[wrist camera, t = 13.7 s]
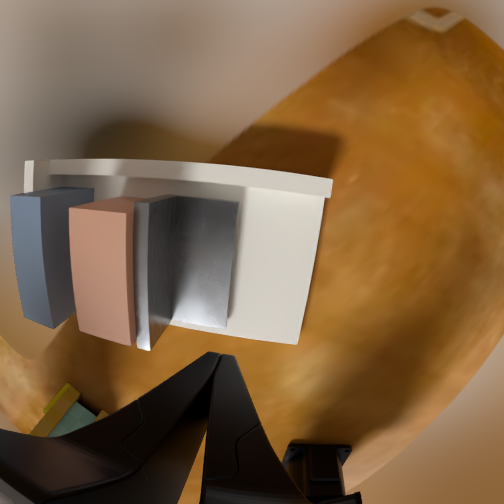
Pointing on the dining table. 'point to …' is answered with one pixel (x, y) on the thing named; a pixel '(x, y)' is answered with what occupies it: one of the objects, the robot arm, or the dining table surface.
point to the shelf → (187, 184)
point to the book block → (104, 268)
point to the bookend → (182, 263)
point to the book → (64, 414)
